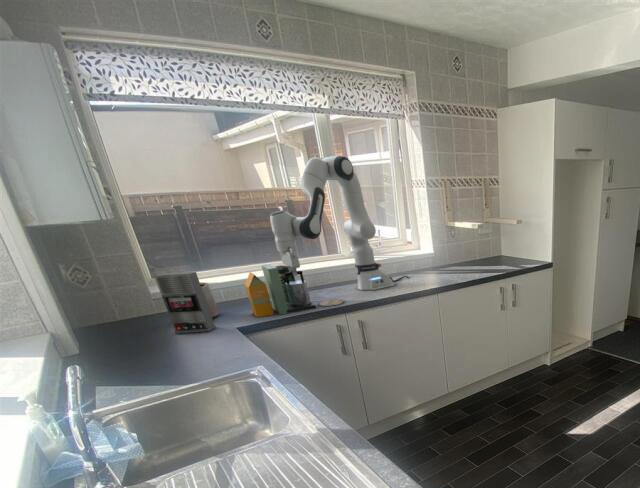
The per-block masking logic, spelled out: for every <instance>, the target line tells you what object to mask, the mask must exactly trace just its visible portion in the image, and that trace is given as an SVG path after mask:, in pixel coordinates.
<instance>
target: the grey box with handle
mask: <svg viewBox="0 0 640 488" xmlns="http://www.w3.org/2000/svg"><path fill="white" fill-rule="evenodd" d="M284 275H285V278H286V282H287V283H285V285H286V288H287V292H288V296H289V300H290V301H289V303H290V304H291V306H303V305H307V304H310V303H311V302H312V301H311V296H310V293H309V288H308V284H307V281H306V280H305V279H304V274H303V271H302V270H297V276H298V275H299V277H300V280H299V279H298V280H295V281H291V282H289V279H288V276H291V275H293V274H292V272H288V273H284Z"/></svg>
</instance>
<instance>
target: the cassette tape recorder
mask: <svg viewBox="0 0 640 488" xmlns="http://www.w3.org/2000/svg"><path fill="white" fill-rule="evenodd" d="M153 278H154V281H155V283H156V284H157V285H156V286H157V287H158V291H159V294H160V295H161V298H162V300H163V303H164V306H165V308H166V311H167V313H168V315H169V318H170V321H171V323H172V325H173V328H174V334H177V335H179V334H188V333H189V334H190V333H201V332H203V333H204V332H205V333H206V332H209V333H210V332H211V331H212V330H214V329H216V324H215V322H214V318H213V319H212V317H211V314H210V311H209V308H208V305H207V302H206V299H205V296H204V294H203V291H202V288H201V285H200V283H201V281H200V280H199V277H198V274H197V272H196V271H185V272H183V271H182V272H165V273H159V274H156V275H154V276H153Z"/></svg>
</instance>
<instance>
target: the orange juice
mask: <svg viewBox="0 0 640 488" xmlns="http://www.w3.org/2000/svg"><path fill="white" fill-rule="evenodd" d="M244 287H245V291H246V294H247V299H248V301H249V304H250V308H251V311H252V314H253V315H254V316H255V317H256V318H261V317H266V316H271V315H275V313H274V309H273V305H272V302H271V298H270V295H269V291H268V287H267V284H266V282H264V281H263V280H261V279H260V278H259V277H258V276H257V275H255V274H254V273H253V272H249V273H248V276H247V278H246V281H245V282H244Z"/></svg>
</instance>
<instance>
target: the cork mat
mask: <svg viewBox="0 0 640 488" xmlns="http://www.w3.org/2000/svg"><path fill="white" fill-rule="evenodd" d="M342 304H344V300H343V299H329V300H324V301H321V302H320V303H319V306H320V307H334V306H338V305H342Z"/></svg>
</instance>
